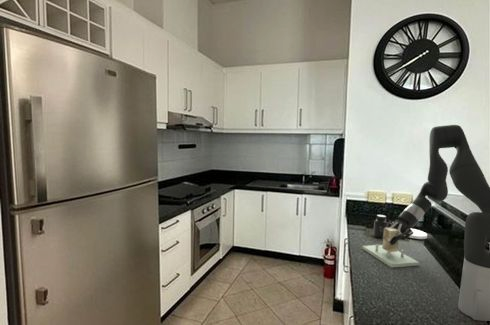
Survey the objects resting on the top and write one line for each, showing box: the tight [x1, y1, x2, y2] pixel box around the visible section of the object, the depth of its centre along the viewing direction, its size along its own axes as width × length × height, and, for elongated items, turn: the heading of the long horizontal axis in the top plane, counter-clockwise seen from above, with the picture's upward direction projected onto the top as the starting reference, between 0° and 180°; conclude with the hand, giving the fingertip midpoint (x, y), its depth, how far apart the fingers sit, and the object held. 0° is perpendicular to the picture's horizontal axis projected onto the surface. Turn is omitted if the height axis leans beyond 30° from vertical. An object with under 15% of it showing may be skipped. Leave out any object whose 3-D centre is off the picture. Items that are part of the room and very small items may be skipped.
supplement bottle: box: [372, 214, 388, 239], centre depth 161 cm, size 7×7×12 cm
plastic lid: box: [403, 228, 428, 240], centre depth 165 cm, size 14×14×2 cm
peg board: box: [362, 244, 420, 268], centre depth 135 cm, size 20×14×4 cm
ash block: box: [382, 227, 399, 252], centre depth 134 cm, size 4×4×10 cm
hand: (386, 241), depth 134 cm, fingers closed on ash block, 4 cm apart
